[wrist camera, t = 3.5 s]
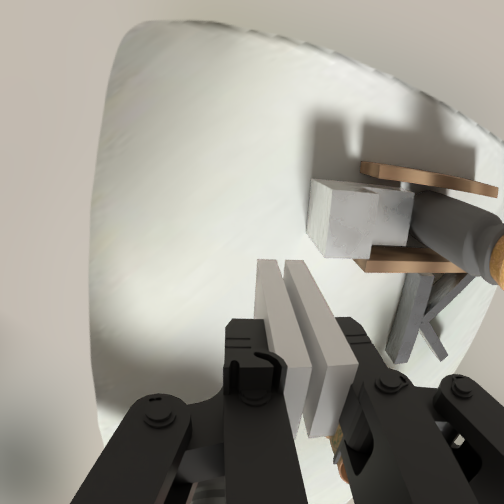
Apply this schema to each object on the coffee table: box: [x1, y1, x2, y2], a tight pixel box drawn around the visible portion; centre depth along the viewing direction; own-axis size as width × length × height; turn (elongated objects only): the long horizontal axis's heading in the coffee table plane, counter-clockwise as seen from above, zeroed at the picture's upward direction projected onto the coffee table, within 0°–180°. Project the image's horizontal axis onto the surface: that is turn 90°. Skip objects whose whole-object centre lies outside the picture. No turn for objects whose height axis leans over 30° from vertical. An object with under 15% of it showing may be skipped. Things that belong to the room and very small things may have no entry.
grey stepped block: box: [306, 179, 415, 259], centre depth 28 cm, size 10×6×7 cm, turn 87°
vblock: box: [385, 273, 476, 364], centre depth 35 cm, size 9×14×3 cm, turn 177°
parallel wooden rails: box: [353, 161, 498, 273], centre depth 30 cm, size 16×10×4 cm, turn 87°
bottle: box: [409, 191, 504, 290], centre depth 25 cm, size 6×6×15 cm
